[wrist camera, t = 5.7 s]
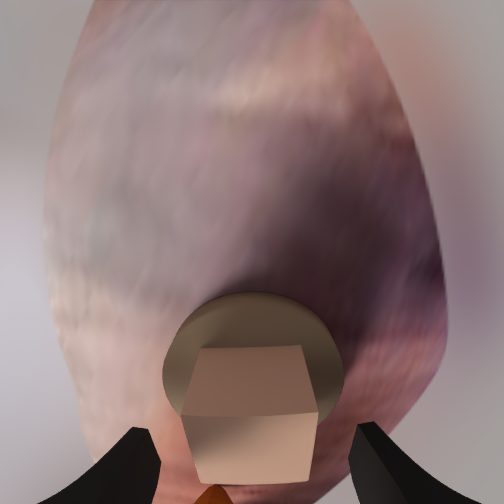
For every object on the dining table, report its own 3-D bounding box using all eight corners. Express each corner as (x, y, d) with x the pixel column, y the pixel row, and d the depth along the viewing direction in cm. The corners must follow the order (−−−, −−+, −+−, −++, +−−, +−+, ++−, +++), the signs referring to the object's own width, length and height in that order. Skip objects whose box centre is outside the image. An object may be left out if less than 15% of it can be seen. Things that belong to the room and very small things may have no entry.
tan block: (297, 414, 12) (308, 481, 9) (211, 417, 12) (200, 482, 9) (300, 344, 11) (318, 411, 8) (200, 347, 12) (180, 414, 8)
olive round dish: (327, 415, 15) (333, 439, 13) (186, 419, 15) (179, 443, 13) (339, 284, 13) (353, 301, 11) (161, 291, 13) (147, 308, 11)
